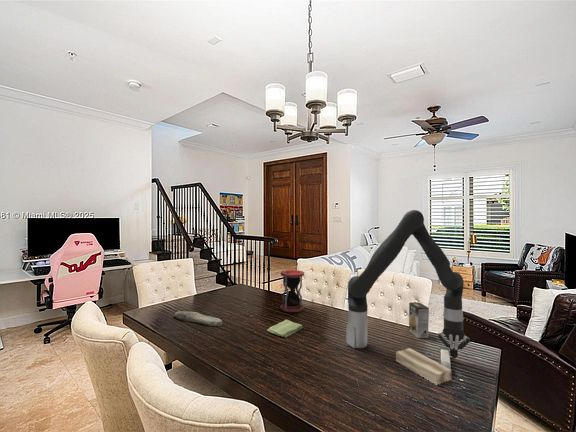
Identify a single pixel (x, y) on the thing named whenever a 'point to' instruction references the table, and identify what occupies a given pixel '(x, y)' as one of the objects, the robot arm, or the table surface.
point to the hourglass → (292, 291)
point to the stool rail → (423, 366)
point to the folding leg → (445, 357)
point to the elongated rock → (198, 318)
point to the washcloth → (285, 328)
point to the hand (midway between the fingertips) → (453, 357)
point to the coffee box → (418, 319)
